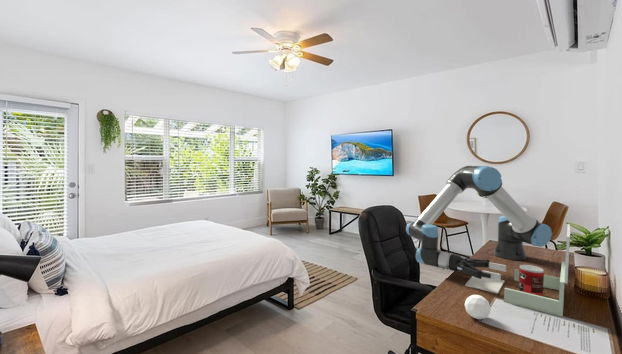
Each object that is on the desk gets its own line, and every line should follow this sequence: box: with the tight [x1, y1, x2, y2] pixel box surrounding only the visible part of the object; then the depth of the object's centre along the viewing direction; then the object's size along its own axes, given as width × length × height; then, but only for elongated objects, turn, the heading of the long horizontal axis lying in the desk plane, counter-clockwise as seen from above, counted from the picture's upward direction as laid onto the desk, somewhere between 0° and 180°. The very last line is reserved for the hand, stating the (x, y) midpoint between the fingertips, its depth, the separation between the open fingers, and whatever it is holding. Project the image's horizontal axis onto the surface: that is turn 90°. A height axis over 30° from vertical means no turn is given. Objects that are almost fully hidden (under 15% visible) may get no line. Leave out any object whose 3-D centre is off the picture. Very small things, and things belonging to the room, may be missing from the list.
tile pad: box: [465, 276, 505, 295], centre depth 131 cm, size 16×12×1 cm
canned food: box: [518, 264, 545, 297], centre depth 120 cm, size 8×8×11 cm
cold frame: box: [503, 223, 571, 318], centre depth 119 cm, size 28×18×28 cm, turn 139°
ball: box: [464, 294, 492, 320], centre depth 103 cm, size 8×8×8 cm
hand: (503, 273), depth 127 cm, fingers open, 13 cm apart
